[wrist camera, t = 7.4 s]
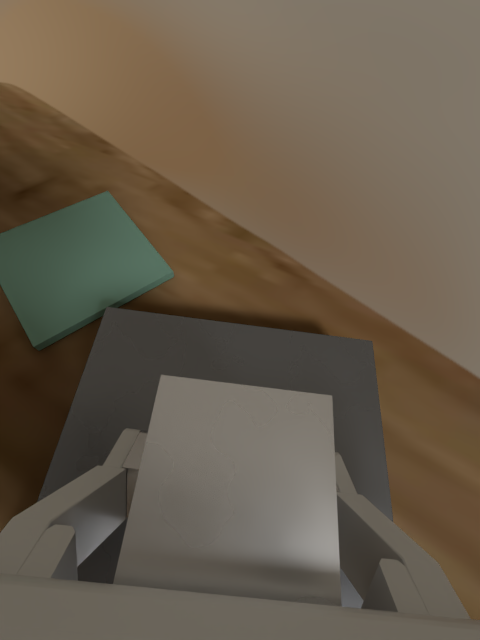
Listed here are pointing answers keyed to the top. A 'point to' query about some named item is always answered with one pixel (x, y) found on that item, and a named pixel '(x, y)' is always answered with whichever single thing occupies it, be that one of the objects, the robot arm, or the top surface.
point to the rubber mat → (76, 267)
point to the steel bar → (236, 495)
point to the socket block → (222, 366)
